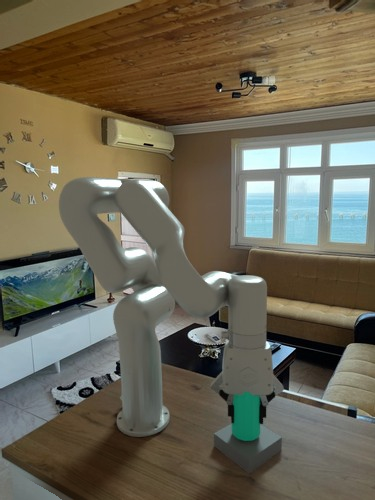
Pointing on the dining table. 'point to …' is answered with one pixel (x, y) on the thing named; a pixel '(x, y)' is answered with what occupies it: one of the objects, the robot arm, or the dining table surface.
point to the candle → (246, 416)
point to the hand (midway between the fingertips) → (246, 418)
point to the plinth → (248, 447)
